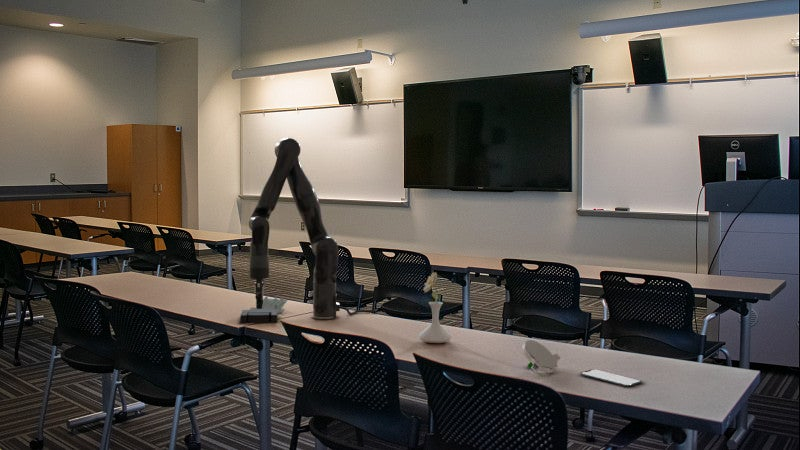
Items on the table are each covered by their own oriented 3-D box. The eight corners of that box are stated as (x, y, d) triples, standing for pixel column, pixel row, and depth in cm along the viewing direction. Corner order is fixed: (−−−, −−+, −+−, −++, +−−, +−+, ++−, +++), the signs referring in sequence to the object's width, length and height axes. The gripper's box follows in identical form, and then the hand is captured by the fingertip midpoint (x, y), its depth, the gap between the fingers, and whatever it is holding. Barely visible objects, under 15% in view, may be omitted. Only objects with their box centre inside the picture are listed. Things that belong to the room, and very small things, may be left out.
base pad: (277, 316, 292) (277, 309, 292) (276, 322, 280) (276, 315, 280) (242, 317, 290) (242, 310, 290) (240, 323, 278) (240, 315, 278)
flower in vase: (421, 337, 257) (422, 268, 255) (452, 339, 255) (454, 269, 253) (415, 345, 244) (416, 272, 242) (449, 347, 242) (450, 274, 240)
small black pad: (269, 320, 285) (269, 312, 285) (268, 322, 280) (268, 314, 280) (248, 320, 284) (248, 312, 284) (247, 322, 279) (247, 315, 279)
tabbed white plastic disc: (545, 374, 205) (527, 339, 208) (523, 385, 209) (506, 349, 212) (566, 364, 217) (549, 331, 220) (545, 374, 221) (529, 341, 224)
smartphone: (643, 382, 202) (594, 370, 214) (643, 380, 202) (594, 368, 214) (628, 387, 196) (578, 374, 208) (628, 385, 196) (578, 372, 208)
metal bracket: (259, 293, 313) (292, 295, 310) (261, 305, 315) (293, 307, 312) (247, 308, 300) (280, 309, 297) (248, 320, 302) (282, 322, 299)
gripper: (268, 268, 274) (268, 309, 275) (269, 263, 288) (269, 303, 289) (248, 268, 273) (248, 310, 274) (250, 264, 287) (250, 304, 288)
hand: (259, 306), depth 282 cm, fingers open, 8 cm apart
